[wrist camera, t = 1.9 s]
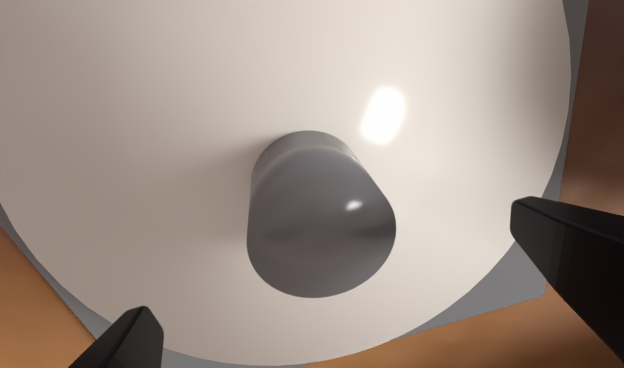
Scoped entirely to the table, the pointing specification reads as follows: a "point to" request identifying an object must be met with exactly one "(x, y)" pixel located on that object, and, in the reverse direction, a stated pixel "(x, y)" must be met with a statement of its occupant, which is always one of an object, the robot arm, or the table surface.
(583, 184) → the table surface
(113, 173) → the lid
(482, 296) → the mat
